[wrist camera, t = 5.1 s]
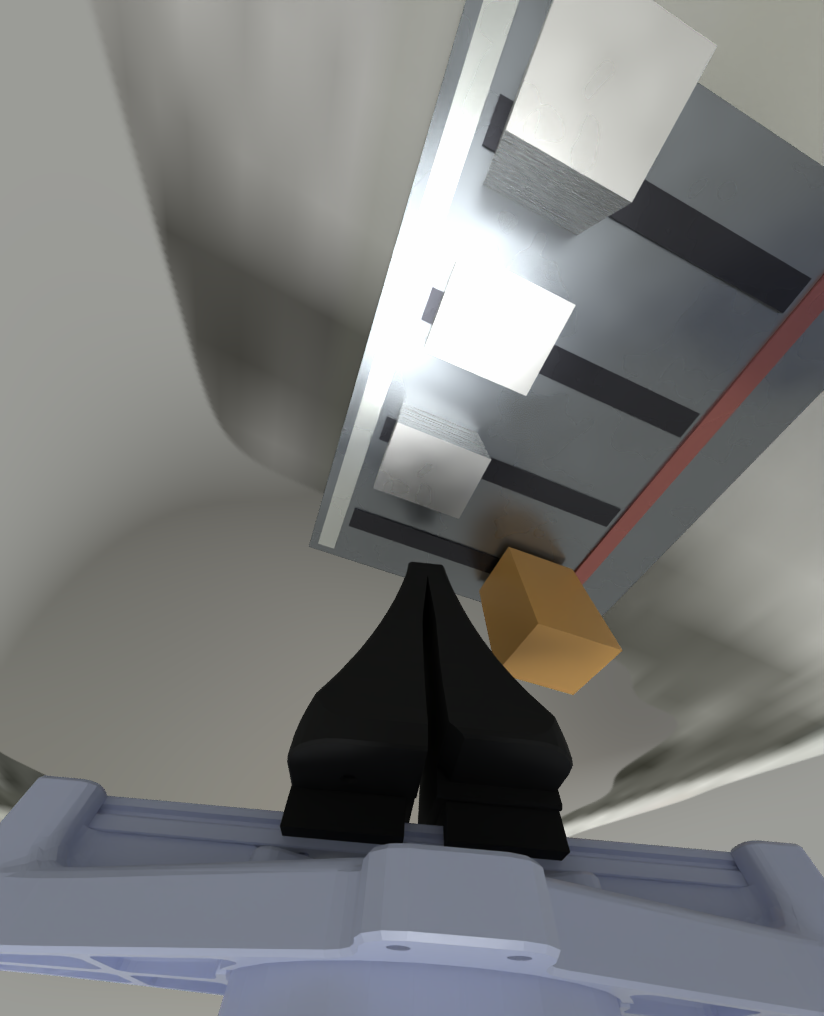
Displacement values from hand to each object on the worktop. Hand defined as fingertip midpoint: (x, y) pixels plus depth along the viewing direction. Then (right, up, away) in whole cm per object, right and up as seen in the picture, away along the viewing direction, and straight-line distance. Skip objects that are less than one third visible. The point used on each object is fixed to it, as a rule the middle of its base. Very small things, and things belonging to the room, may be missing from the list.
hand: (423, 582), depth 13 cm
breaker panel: (+5, +6, +1) cm, 8 cm away
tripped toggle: (+5, -1, +3) cm, 6 cm away
